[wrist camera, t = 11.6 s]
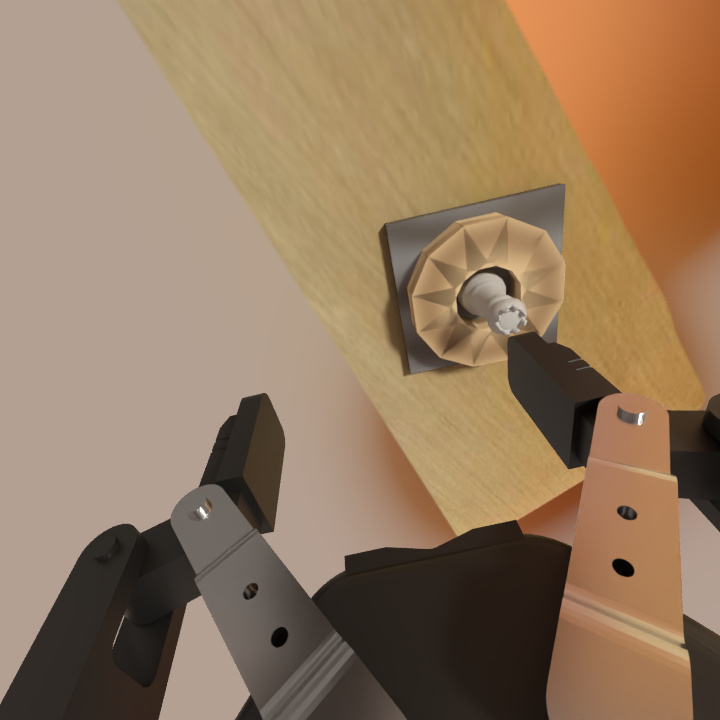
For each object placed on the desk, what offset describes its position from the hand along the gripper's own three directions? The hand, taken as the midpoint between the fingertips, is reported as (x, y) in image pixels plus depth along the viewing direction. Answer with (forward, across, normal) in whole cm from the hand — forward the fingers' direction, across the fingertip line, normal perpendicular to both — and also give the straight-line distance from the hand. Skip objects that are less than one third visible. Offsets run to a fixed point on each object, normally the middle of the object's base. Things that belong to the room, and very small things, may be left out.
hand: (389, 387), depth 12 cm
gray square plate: (+25, -11, +8) cm, 29 cm away
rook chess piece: (+24, -11, +8) cm, 28 cm away
